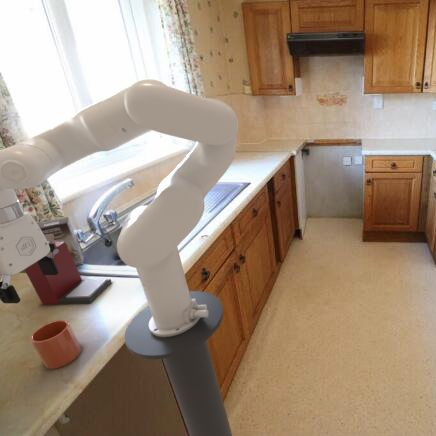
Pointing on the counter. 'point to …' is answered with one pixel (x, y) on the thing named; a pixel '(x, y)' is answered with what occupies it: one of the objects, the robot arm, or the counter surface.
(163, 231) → the robot arm
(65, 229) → the coffee box
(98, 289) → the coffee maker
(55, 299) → the column
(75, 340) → the cup
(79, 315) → the counter surface
